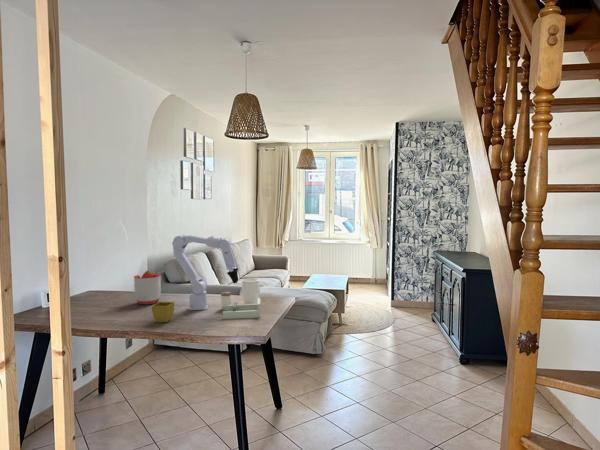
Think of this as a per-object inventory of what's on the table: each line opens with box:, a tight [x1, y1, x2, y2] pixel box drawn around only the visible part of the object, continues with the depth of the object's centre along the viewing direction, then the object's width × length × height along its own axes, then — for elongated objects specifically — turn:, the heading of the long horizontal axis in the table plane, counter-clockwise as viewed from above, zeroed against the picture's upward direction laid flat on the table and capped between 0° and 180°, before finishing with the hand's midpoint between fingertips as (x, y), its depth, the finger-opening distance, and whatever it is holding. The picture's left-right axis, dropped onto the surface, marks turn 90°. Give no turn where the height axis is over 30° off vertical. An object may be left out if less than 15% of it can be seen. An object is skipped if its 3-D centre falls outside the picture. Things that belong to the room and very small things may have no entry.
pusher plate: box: [233, 302, 238, 311], centre depth 214 cm, size 2×11×5 cm, turn 6°
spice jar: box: [220, 291, 232, 311], centre depth 227 cm, size 6×6×9 cm
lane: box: [222, 297, 262, 320], centre depth 215 cm, size 20×15×7 cm
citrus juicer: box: [133, 270, 162, 305], centre depth 245 cm, size 16×17×20 cm
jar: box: [241, 278, 261, 305], centre depth 236 cm, size 11×10×15 cm
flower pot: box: [150, 301, 175, 323], centre depth 204 cm, size 9×9×9 cm
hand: (236, 282), depth 228 cm, fingers open, 7 cm apart
